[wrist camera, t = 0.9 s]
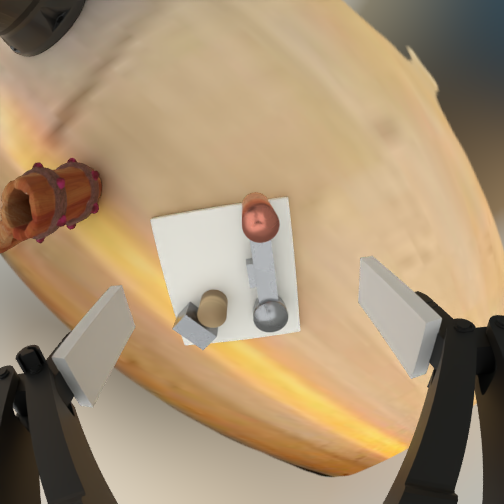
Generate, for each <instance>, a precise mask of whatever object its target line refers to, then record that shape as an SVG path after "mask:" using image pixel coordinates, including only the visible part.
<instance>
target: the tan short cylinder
mask: <svg viewBox="0 0 504 504" xmlns="http://www.w3.org/2000/svg"><path fill="white" fill-rule="evenodd" d="M227 305H228V300H227V297H226V295H225V294H224V293H223V292H221V291H219V290H208V291H206V292H205V293H204V294H203V295H202V297H201V301H200V305H199V308H198V312H197V317H198V319H199V321H200V322H201V323H202V324H203V325H204V326H207V327H210V328H216V327H219V326H221V325H222V324H224V322H225V321H226V317H227Z"/></svg>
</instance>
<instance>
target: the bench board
mask: <svg viewBox="0 0 504 504" xmlns="http://www.w3.org/2000/svg"><path fill="white" fill-rule="evenodd" d="M268 201H269V202H270V204H271V206H272V207H273V209H274V211H275V212H276V214H277V216H278V218H279V222H280V226H279V230H278V233H277V234H276V236H275V237H274V238H273V239H271V243H272V251H273V259H274V268H275V276H276V284H277V293H278V297H279V298H281V299H282V300H283V301H284V303H285V305H286V308H287V312H288V321H287V324H286V325H285V326H284V327H283V328H282V329H281V330H279V331H276V332H271V333H270V332H263V331H261V330H259V329H258V328H257V327H256V326H255V324H254V321H253V306H254V304H255V303H256V301H257V300H259V299H258V293H257V287H255V288H250V286H249V279H248V273H247V267H246V259H248V258H252V253H251V246H250V239H248V238H247V237H246V235H245V234H244V232H243V229H242V203H236V204H230V205H223V206H217V207H211V208H205V209H199V210H193V211H187V212H181V213H176V214H170V215H165V216H159V217H154V218H152V219H151V220H150V221H151V225H152V230H153V234H154V238H155V243H156V247H157V251H158V255H159V259H160V263H161V267H162V270H163V274H164V278H165V282H166V285H167V289H168V292H169V296H170V299H171V303H172V306H173V309H174V313H175V316H176V318H177V315H178V314H179V313H180V312H181V311H182V310H183V308H184V307H185V306H186V305H187V304H188V303H189V302H192V303H193V304H194V305H196V306H197V307H198V308H199V305H200V301H201V297H202V295H203V294H204V293H205V292H206V291H208V290H219V291H221V292H223V293H224V294H225V295H226V297H227V300H228V305H227V317H226V321H225V322H224V324H222V325H221V326H219V327H218V333H217V337H216V338H215V339H214V340H213V341H212V342H211V343H217V342H226V341H235V340H243V339H251V338H259V337H266V336H273V335H280V334H286V333H292V332H298V331H300V321H299V307H298V294H297V281H296V270H295V259H294V248H293V238H292V228H291V219H290V210H289V201H288V197H279V198H271V199H268ZM182 338H183V341H184V344H185V345H195V344H193V343H192V342H190V341H189V340H187V339H186V338H185V337H183V336H182Z"/></svg>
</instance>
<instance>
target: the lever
mask: <svg viewBox="0 0 504 504" xmlns="http://www.w3.org/2000/svg"><path fill="white" fill-rule="evenodd" d="M279 226H280V222H279V218H278V216H277V214H276V212H275V211H274V209H273V207H272V206H271V204H270V202H269V201H268V199H267V198H266V196H264V195H263V194H261V193H257V192H254V193H250V194H248V195H247V196H246V197H245V198H244V200H243V202H242V229H243V232H244V234H245V235H246V237H247V238H248V239H250V246H251V253H252V258H248V259H246V267H247V273H248V279H249V286H250V288H255V287H257V293H258V299H259V300H257V301H256V303H255V304H254V306H253V321H254V324H255V326H256V327H257V328H258V329H259V330H261V331H263V332H270V333H271V332H276V331H279V330H281V329H282V328H283V327H284V326H285V325H286V324H287V321H288V312H287V308H286V305H285V303H284V301H283V300H282V299H281V298H279V297H278V293H277V284H276V276H275V268H274V259H273V251H272V243H271V239H273V238H274V237H275V236H276V234H277V233H278V230H279Z"/></svg>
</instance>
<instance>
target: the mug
mask: <svg viewBox="0 0 504 504" xmlns="http://www.w3.org/2000/svg"><path fill="white" fill-rule="evenodd" d="M101 190H102V185H101V180H100V178H99V173H98V172H97V171H94V170H93V169H92V168H90V167H88V166H87V165H85V164H83V163H78V162H76V160H75V159H74V158H70V159H69V160H68V162H67V163H65V164H63V165H61V166H59V167H58V168H57V169H56V170H51V169H49V168H44V167H43V165H42V164H41V163H35V164H34V166H33V168H32V169H31V170H29V171H27V172H25V173H24V174H23V175H22V176H20V177H18V178H17V179H16V180H14V181H10V182H9V183H8V184H7V186H6V187H5V189H4V191H3V193H2V196H1V201H2V203H3V206H2V208H1V210H0V211H1V218H2V220H1V221H0V253H3V252H5V251H7V250H8V249H10V248H12V247H14V246H15V245H17V244H19V243H20V242H22V241H24V240H27V239H29V238H33V239H36V241H37V242H38V243H42V242H43V241H44V239H45V237H46V236H48V235H50V234H52V233H53V232H55V231H56V230H57V229H58V228H59V227H61V226H64V225H67V228H69V229H74V228H75V226H76V223H78V222H80V221H82V220H84V219H86V218H87V217H88V216H89V215H90V214H91V213H93V214H94V213H97V212H98V210H99V207H98V204H97V203H98V199H99V198H100V196H101Z"/></svg>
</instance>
